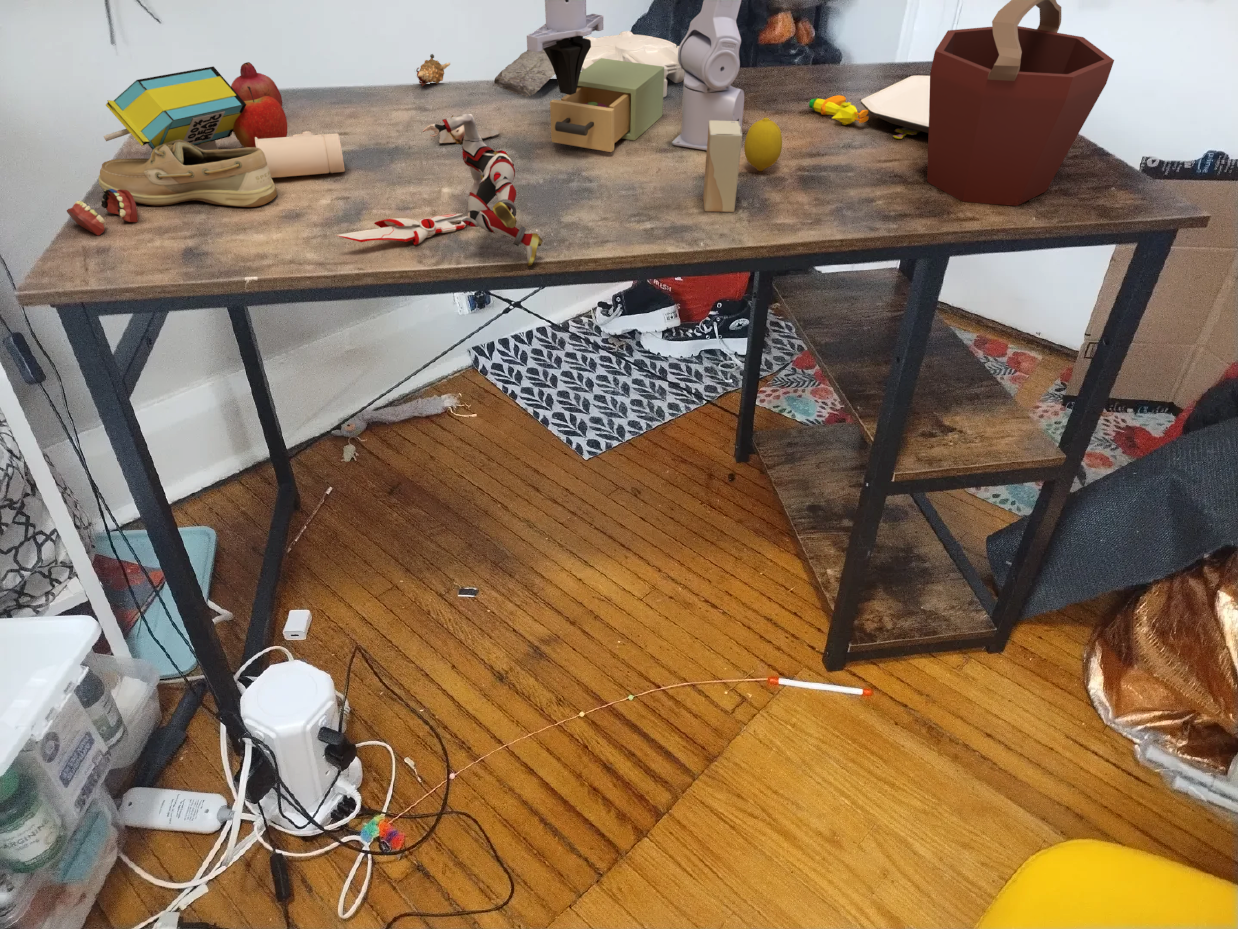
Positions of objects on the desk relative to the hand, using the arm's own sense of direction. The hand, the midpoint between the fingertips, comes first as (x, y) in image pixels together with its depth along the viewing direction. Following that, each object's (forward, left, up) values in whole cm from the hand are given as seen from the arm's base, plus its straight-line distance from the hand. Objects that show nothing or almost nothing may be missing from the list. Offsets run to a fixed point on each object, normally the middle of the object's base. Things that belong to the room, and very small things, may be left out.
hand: (568, 92), depth 131 cm
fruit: (+53, +7, -10) cm, 55 cm away
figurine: (+41, -21, -5) cm, 47 cm away
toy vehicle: (+7, -41, -4) cm, 42 cm away
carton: (+48, +19, -2) cm, 52 cm away
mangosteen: (0, -9, -8) cm, 12 cm away
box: (-26, +6, -11) cm, 29 cm away
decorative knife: (-45, -37, -10) cm, 59 cm away
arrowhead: (+24, +1, -10) cm, 25 cm away
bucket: (-59, -18, -10) cm, 63 cm away
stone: (+18, -37, -9) cm, 42 cm away
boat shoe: (+44, +33, -10) cm, 56 cm away
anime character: (-9, +41, -9) cm, 43 cm away
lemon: (-28, -8, -11) cm, 31 cm away
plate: (-53, -43, -10) cm, 69 cm away
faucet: (+40, +23, -8) cm, 47 cm away
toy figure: (-39, -32, -8) cm, 51 cm away
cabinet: (0, -18, -10) cm, 21 cm away
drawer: (0, -8, -9) cm, 12 cm away
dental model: (+49, +49, -8) cm, 70 cm away
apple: (+44, +17, -10) cm, 49 cm away
